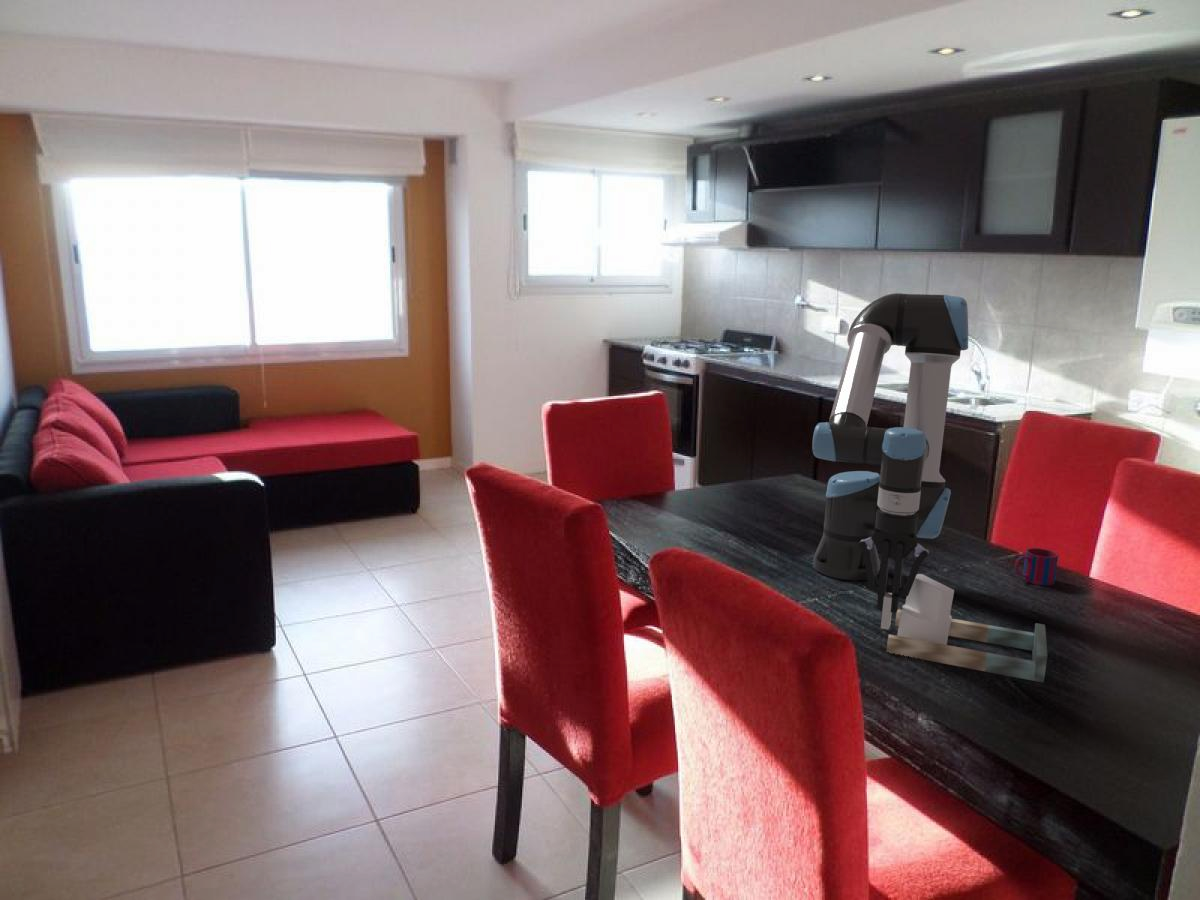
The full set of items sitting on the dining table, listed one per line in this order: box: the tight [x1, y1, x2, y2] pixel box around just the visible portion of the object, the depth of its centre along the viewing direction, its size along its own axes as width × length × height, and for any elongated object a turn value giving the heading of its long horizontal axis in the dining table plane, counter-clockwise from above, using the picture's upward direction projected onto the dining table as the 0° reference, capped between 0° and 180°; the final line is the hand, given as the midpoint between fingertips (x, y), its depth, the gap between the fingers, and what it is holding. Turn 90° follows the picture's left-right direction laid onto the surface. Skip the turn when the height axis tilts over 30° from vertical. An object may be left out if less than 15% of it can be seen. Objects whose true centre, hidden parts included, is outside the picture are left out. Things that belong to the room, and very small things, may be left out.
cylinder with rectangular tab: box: [896, 573, 955, 645], centre depth 172 cm, size 9×9×12 cm
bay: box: [886, 608, 1048, 683], centre depth 170 cm, size 27×15×5 cm, turn 66°
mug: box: [1014, 547, 1059, 587], centre depth 207 cm, size 7×10×7 cm
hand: (885, 626), depth 175 cm, fingers closed
